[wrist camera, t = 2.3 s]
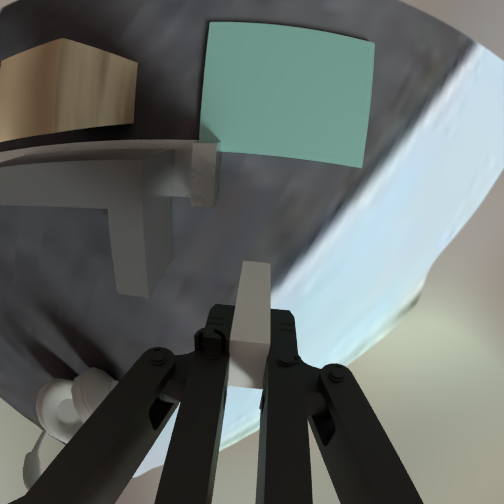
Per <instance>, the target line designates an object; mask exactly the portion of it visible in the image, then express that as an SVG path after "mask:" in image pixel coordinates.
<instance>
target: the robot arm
mask: <svg viewBox="0 0 504 504" xmlns="http://www.w3.org/2000/svg"><path fill="white" fill-rule="evenodd" d="M194 341H195V351H193V352H191V353H189V354H184V355H174V354H173V353H172V352H171V351H170V350H168V349H167V348H162V347H154V348H151V349H148V350H147V351H146V352H144V353H143V354H142V356H141V357H140V358H139V359H138V360H137V361H136V363H135V364H134V365H133V366H132V367H131V368H130V370H129V371H128V372H127V373H126V374H125V375H124V377H123V378H122V379H121V380H120V381H119V382H118V384H117V385H116V386H115V387H114V388H113V389H112V391H111V392H110V393H109V394H108V395H107V397H106V398H105V399H104V400H103V401H102V402H101V404H100V405H99V406H98V407H97V408H96V410H95V411H94V412H93V413H92V414H91V416H90V417H89V418H88V419H87V420H86V421H85V423H84V424H83V425H82V426H81V427H80V429H79V430H78V431H77V432H76V433H75V435H74V436H73V437H72V438H71V439H70V441H69V442H68V443H67V444H66V446H65V447H64V448H63V449H62V450H61V452H60V453H59V454H58V455H57V457H56V458H55V459H54V460H53V461H52V463H51V464H50V465H49V466H48V468H47V469H46V470H45V471H44V472H43V474H42V475H41V476H40V477H39V478H38V480H37V481H36V482H35V483H34V485H33V486H32V487H31V488H30V490H29V491H28V492H27V494H26V495H25V496H23V497H21V498H19V499H17V500H15V501H13V502H11V503H8V504H115V502H116V501H117V499H118V498H119V496H120V495H121V493H122V491H123V490H124V489H125V487H126V486H127V484H128V483H129V481H130V479H131V478H132V476H133V475H134V473H135V472H136V470H137V469H138V467H139V466H140V464H141V463H142V461H143V460H144V458H145V456H146V455H147V453H148V452H149V450H150V449H151V447H152V446H153V444H154V442H155V441H156V439H157V438H158V436H159V435H160V433H161V432H162V430H163V428H164V427H165V425H166V424H167V422H168V420H169V419H170V417H171V416H172V414H173V413H174V411H175V409H176V408H177V406H178V405H179V402H181V403H180V406H179V410H178V414H177V417H176V421H175V425H174V429H173V432H172V436H171V440H170V444H169V447H168V451H167V455H166V459H165V463H164V467H163V471H162V475H161V479H160V483H159V487H158V491H157V495H156V499H155V503H154V504H211V502H212V496H213V488H214V481H215V474H216V467H217V460H218V453H219V446H220V439H221V432H222V425H223V418H224V411H225V404H226V397H227V386H235V387H245V388H256V389H262V388H263V392H262V397H261V402H260V408H259V409H261V413H260V435H259V453H258V472H257V488H256V504H313V501H312V480H311V463H310V448H309V435H308V421H309V424H310V427H311V429H312V432H313V434H314V437H315V439H316V442H317V444H318V447H319V450H320V452H321V455H322V457H323V460H324V463H325V465H326V467H327V470H328V473H329V475H330V478H331V480H332V483H333V486H334V488H335V491H336V493H337V496H338V498H339V501H340V503H341V504H423V502H422V500H421V498H420V496H419V494H418V492H417V490H416V488H415V486H414V484H413V482H412V481H411V479H410V477H409V475H408V473H407V471H406V469H405V468H404V466H403V464H402V462H401V460H400V458H399V456H398V454H397V453H396V451H395V449H394V447H393V445H392V443H391V442H390V440H389V438H388V436H387V434H386V432H385V431H384V429H383V427H382V425H381V423H380V422H379V420H378V418H377V416H376V415H375V413H374V411H373V409H372V407H371V406H370V404H369V402H368V400H367V398H366V397H365V395H364V393H363V392H362V390H361V388H360V386H359V384H358V383H357V381H356V379H355V377H354V376H353V374H352V372H351V371H350V370H349V369H348V368H347V367H345V366H343V365H340V364H328V365H325V366H324V367H323V368H322V369H319V368H316V367H312V366H310V365H308V364H306V363H304V362H303V361H302V360H301V357H300V356H299V355H298V349H297V339H296V329H295V319H294V316H293V315H292V313H291V312H290V311H289V310H279V309H270V263H261V262H251V261H243V266H242V272H241V277H240V283H239V289H238V294H237V300H236V306H231V305H222V304H215V305H214V306H213V307H212V308H211V309H210V312H209V315H208V319H207V322H206V326H205V328H202V329H200V330H199V331H197V332H196V334H195V335H194ZM307 419H308V421H307Z"/></svg>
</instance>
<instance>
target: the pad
mask: <svg viewBox="0 0 504 504" xmlns="http://www.w3.org/2000/svg"><path fill="white" fill-rule="evenodd" d="M374 48H375V43H372V42H368V41H364V40H360V39H356V38H352V37H348V36H343V35H339V34H334V33H329V32H324V31H318V30H312V29H306V28H299V27H291V26H283V25H273V24H261V23H244V22H210V25H209V33H208V42H207V51H206V60H205V70H204V81H203V92H202V104H201V117H200V132H199V141H216V142H221V149H220V151H224V152H238V153H250V154H261V155H272V156H281V157H290V158H298V159H306V160H313V161H320V162H327V163H334V164H340V165H346V166H352V167H358V168H362V163H363V157H364V150H365V143H366V136H367V128H368V119H369V111H370V101H371V91H372V79H373V65H374Z"/></svg>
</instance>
